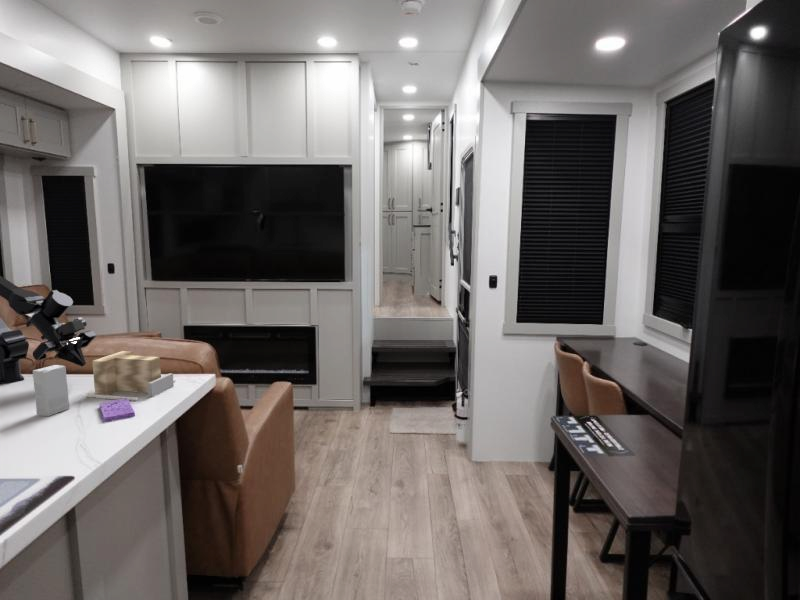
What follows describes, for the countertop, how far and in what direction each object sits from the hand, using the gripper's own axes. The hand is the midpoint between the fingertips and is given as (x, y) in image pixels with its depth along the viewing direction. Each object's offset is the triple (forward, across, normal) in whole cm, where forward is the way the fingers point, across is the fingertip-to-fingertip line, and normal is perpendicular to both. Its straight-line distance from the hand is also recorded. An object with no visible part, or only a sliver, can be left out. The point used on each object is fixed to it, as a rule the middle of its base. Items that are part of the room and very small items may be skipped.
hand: (84, 365), depth 150 cm
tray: (+17, 0, -8) cm, 19 cm away
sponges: (+23, -17, -13) cm, 31 cm away
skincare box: (+11, -21, -2) cm, 24 cm away
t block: (+16, 0, -7) cm, 18 cm away
